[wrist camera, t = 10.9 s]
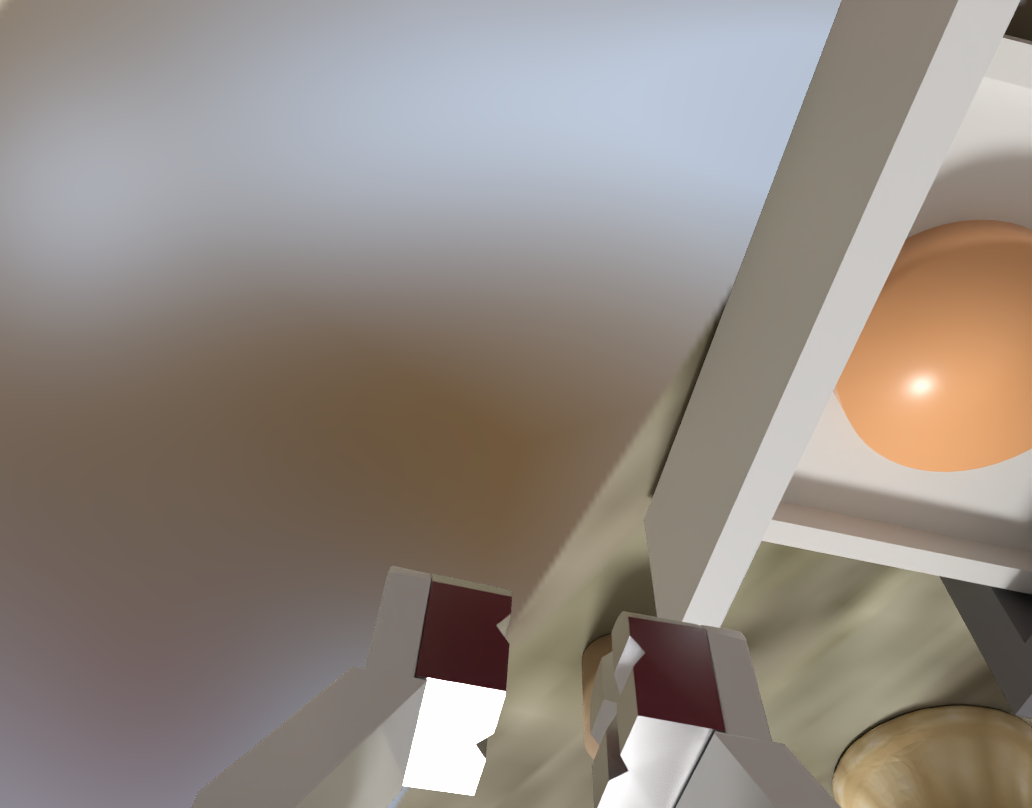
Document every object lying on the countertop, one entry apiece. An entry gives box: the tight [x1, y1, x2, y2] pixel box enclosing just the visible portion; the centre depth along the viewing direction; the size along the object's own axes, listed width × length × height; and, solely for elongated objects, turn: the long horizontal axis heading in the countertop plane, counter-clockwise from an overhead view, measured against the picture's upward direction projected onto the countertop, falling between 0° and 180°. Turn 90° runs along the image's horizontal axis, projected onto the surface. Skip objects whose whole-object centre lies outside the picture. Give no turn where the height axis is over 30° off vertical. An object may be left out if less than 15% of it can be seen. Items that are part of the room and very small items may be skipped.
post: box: [582, 634, 612, 759], centre depth 31 cm, size 3×3×4 cm
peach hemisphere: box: [833, 220, 1032, 472], centre depth 22 cm, size 6×6×2 cm
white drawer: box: [644, 0, 1032, 628], centre depth 22 cm, size 13×18×6 cm
